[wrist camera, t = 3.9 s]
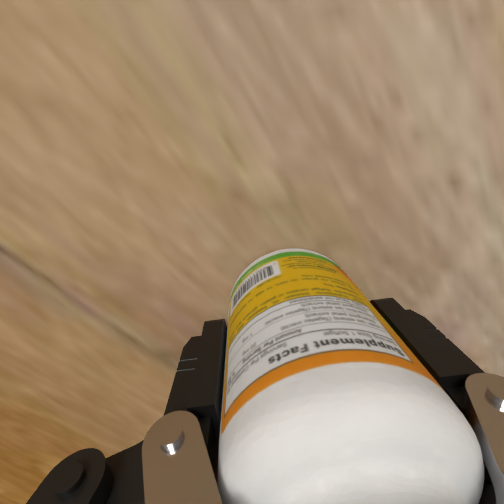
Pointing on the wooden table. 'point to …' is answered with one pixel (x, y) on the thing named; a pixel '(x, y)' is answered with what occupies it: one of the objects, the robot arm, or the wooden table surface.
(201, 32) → the wooden table surface
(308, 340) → the supplement bottle
